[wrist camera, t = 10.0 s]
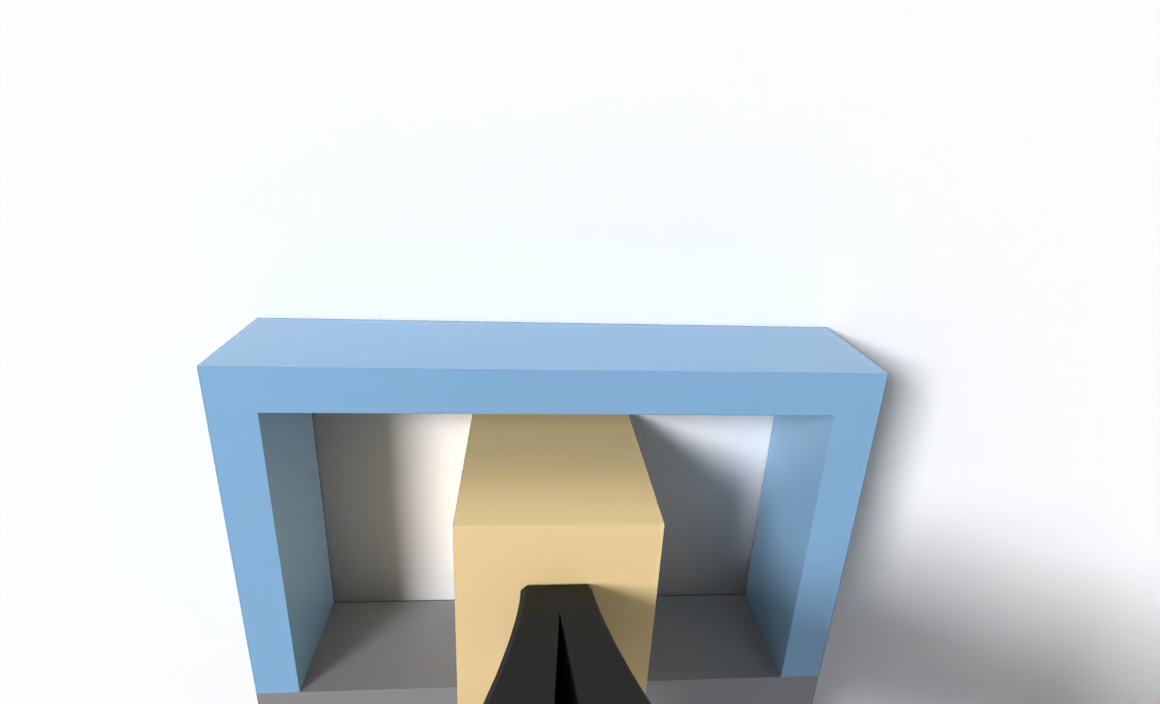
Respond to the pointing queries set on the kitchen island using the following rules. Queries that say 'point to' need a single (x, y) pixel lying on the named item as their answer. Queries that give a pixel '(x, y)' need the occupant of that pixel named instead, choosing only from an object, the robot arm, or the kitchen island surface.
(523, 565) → the sand colored cube
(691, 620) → the two-compartment tray
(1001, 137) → the kitchen island surface
